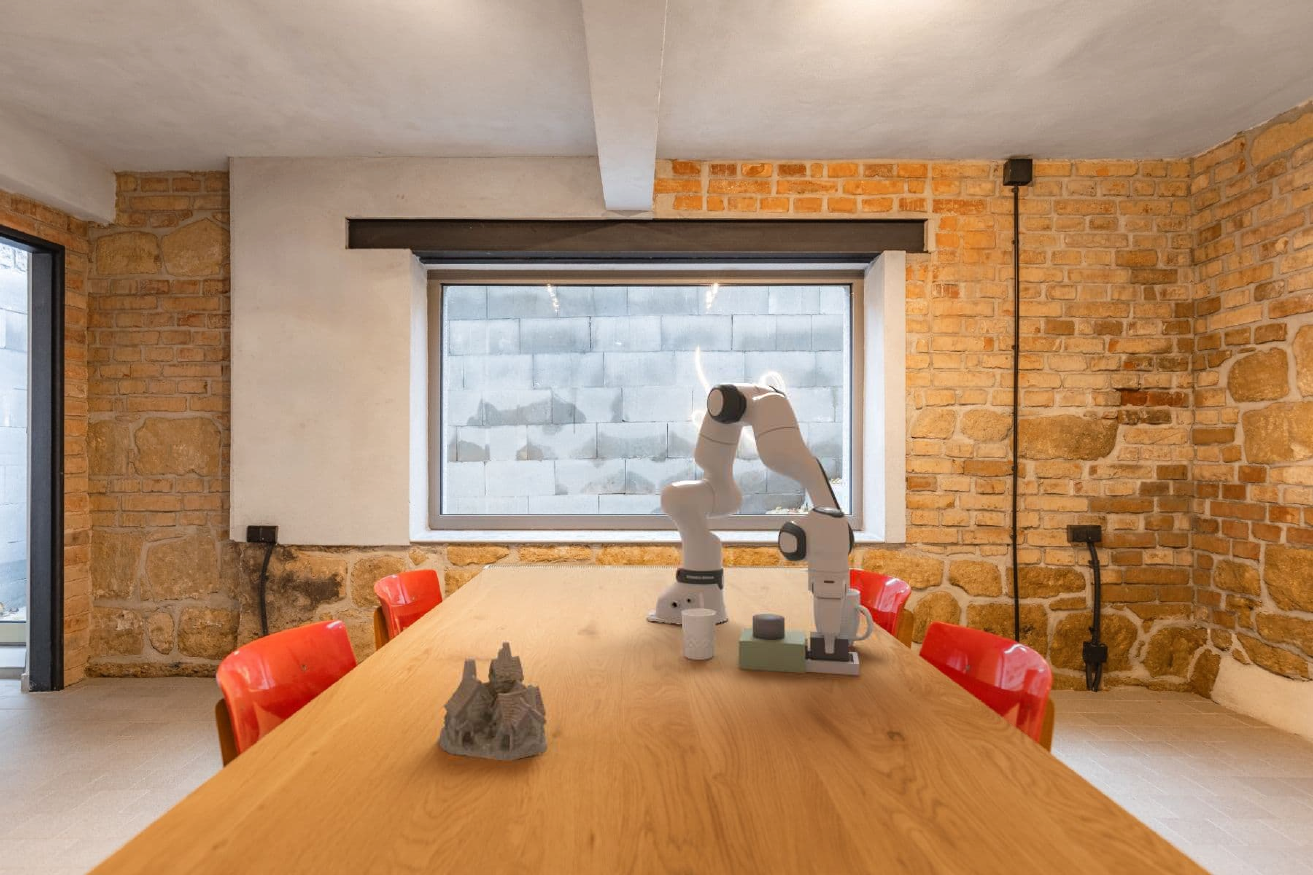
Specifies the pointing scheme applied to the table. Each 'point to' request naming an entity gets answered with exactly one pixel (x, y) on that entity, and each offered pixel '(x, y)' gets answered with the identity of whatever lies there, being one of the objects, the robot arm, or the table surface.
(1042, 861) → the table surface
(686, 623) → the white cup
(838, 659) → the tall grey rectangular block
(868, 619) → the mug
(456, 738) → the ceramic cottage
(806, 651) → the green box with dome
